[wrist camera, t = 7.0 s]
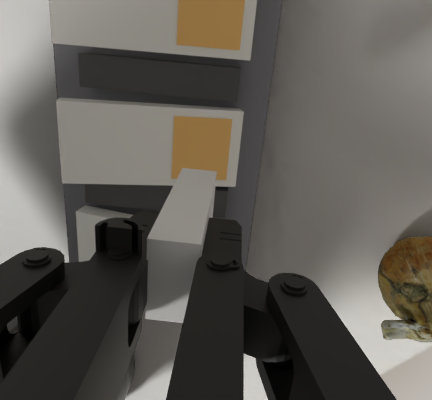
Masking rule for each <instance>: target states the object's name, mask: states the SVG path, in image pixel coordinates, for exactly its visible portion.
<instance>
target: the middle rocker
mask: <svg viewBox="0 0 432 400" xmlns="http://www.w3.org/2000/svg"><path fill="white" fill-rule="evenodd" d="M56 110H57V124H58V137H59V150H60V164H61V177H62V183H67V184H118V185H169V186H174V184H175V182H176V180H177V178H178V176H179V174H180V172H181V170H182V168H189V169H198V170H208V171H217V174H216V185H215V186H220V187H235V186H236V177H237V168H238V160H239V151H240V142H241V133H242V124H243V115H244V111H242V110H241V109H240V108H226V107H209V106H193V105H176V104H159V103H143V102H126V101H110V100H93V99H76V98H59V99H57V100H56Z"/></svg>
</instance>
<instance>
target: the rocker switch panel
mask: <svg viewBox="0 0 432 400" xmlns="http://www.w3.org/2000/svg"><path fill="white" fill-rule="evenodd" d="M281 7H282V0H257V6H256V15H255V23H254V32H253V41H252V50H251V59H250V61H249V60H237V59H226V58H215V57H203V56H192V55H180V54H169V53H157V52H146V51H135V50H123V49H112V48H100V47H89V46H77V45H66V44H55V43H53V47H54V61H55V74H56V88H57V99H59V98H76V99H93V100H110V101H126V102H143V103H159V104H176V105H193V106H209V107H226V108H240V109H241V110H242V111H244V115H243V124H242V133H241V142H240V151H239V160H238V168H237V177H236V186H235V187H220V186H215V196H214V207H213V218H219V219H229V220H236V221H237V222H238V223H239V224H240V226H241V227H242V264H243V267H244V270H245V271H246V264H247V257H248V249H249V242H250V235H251V227H252V220H253V213H254V205H255V198H256V190H257V183H258V176H259V168H260V161H261V154H262V146H263V139H264V132H265V124H266V117H267V110H268V102H269V95H270V88H271V80H272V73H273V66H274V58H275V51H276V44H277V36H278V29H279V21H280V14H281ZM172 188H173V186H169V185H118V184H67V183H64V196H65V210H66V224H67V237H68V251H69V263H71V262H79V256H78V240H77V224H76V211H77V210H79V209H80V208H82V207H83V206H85V205H87V206H92V207H97V208H102V209H107V210H111V211H116V212H121V213H126V214H131V215H135V214H136V213H138V212H140V211H144V212H153V213H160V211H161V209H162V207H163V205H164V203H165V201H166V200H167V198H168V196H169V194H170V192H171V190H172Z"/></svg>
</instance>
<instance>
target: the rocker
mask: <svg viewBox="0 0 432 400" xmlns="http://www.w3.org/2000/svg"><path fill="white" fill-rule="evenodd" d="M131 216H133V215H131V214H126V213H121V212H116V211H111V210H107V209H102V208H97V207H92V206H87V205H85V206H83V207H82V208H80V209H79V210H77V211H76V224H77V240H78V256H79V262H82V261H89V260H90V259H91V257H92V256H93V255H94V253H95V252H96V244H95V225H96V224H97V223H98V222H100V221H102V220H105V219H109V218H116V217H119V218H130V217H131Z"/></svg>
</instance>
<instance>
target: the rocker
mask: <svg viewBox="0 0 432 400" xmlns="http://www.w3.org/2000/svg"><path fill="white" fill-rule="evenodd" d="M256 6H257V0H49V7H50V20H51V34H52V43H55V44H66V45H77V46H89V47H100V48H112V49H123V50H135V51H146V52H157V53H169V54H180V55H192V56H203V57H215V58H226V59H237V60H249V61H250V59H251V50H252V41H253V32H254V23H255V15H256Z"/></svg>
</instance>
